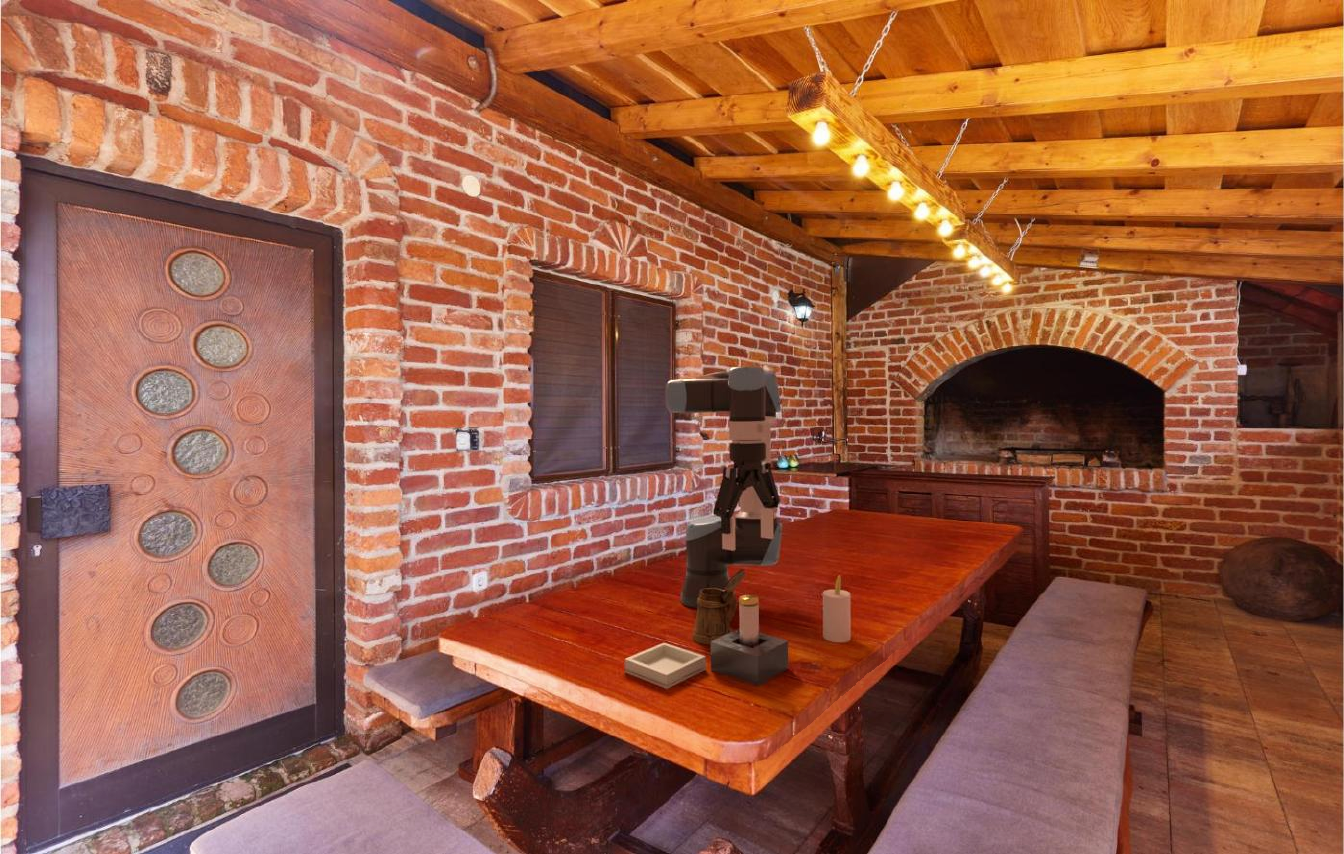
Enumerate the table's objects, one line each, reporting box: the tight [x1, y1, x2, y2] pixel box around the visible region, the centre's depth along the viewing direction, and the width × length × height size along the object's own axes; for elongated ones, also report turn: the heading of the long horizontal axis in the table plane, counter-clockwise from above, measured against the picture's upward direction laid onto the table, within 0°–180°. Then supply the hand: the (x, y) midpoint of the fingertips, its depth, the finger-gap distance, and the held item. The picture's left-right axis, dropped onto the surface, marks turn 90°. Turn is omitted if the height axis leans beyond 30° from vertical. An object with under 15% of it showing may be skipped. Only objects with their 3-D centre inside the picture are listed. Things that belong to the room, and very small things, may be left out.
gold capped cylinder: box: [738, 594, 760, 648], centre depth 135 cm, size 4×4×15 cm
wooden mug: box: [692, 568, 746, 645], centre depth 152 cm, size 9×14×18 cm, turn 51°
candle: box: [821, 574, 852, 643], centre depth 152 cm, size 6×6×15 cm
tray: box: [624, 642, 707, 690], centre depth 135 cm, size 12×12×3 cm
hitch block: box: [710, 628, 789, 687], centre depth 135 cm, size 12×11×6 cm
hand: (748, 543), depth 134 cm, fingers open, 13 cm apart
